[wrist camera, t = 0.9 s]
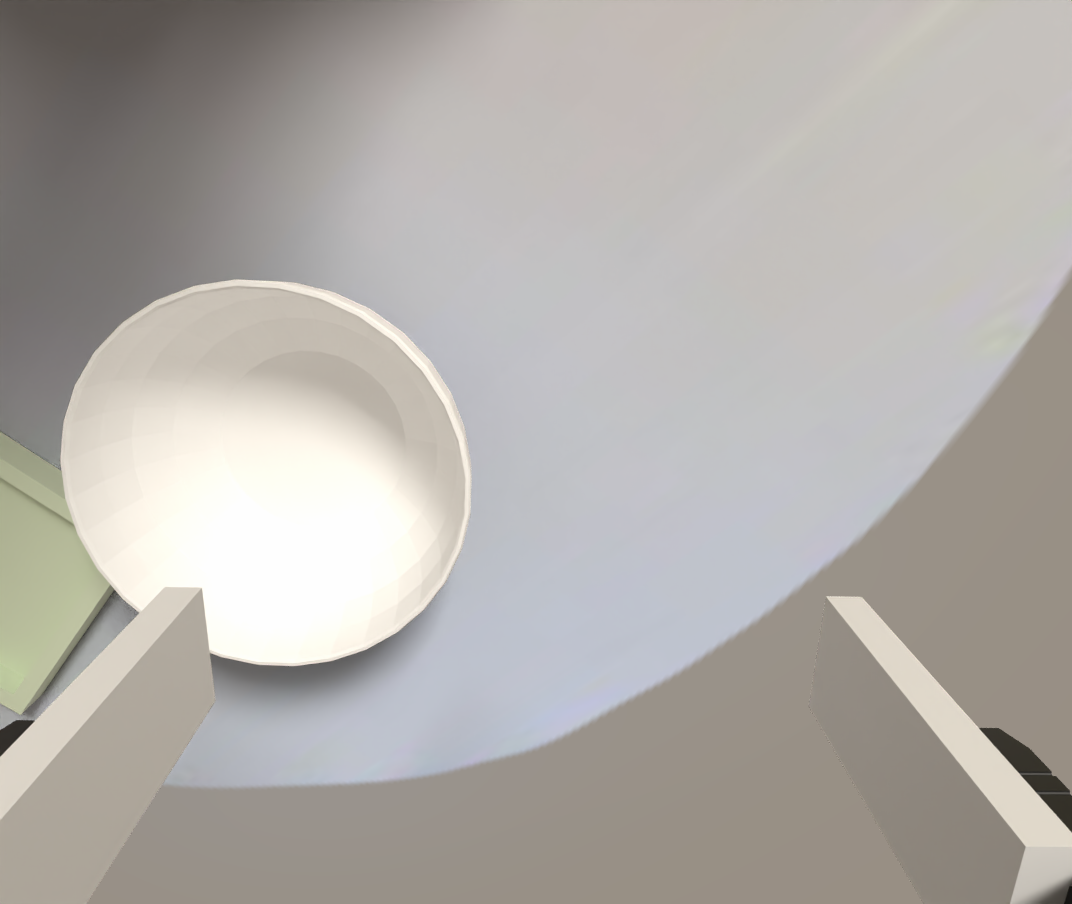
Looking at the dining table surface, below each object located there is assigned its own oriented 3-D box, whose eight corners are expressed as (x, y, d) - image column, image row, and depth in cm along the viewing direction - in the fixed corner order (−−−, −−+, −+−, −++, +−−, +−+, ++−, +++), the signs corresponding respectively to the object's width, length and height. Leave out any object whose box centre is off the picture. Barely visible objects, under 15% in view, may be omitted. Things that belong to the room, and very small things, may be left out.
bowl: (149, 566, 45) (63, 642, 37) (151, 244, 40) (52, 248, 32) (460, 606, 46) (446, 689, 38) (502, 298, 41) (497, 314, 33)
